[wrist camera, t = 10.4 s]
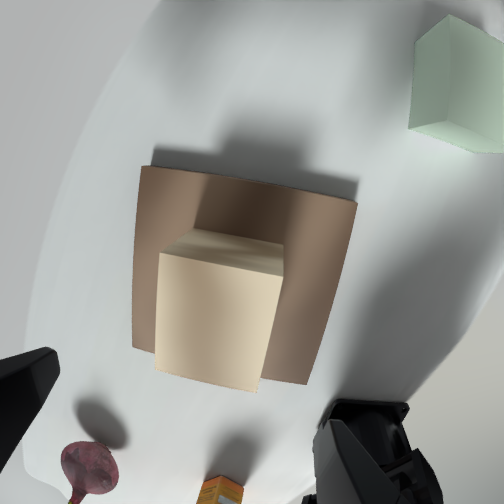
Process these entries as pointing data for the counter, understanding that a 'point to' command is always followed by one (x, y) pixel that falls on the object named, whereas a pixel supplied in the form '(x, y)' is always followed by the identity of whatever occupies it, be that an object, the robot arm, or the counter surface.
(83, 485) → the vegetable
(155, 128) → the counter surface
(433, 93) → the sage green brick
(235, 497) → the supplement box
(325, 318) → the walnut baseboard
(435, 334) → the counter surface
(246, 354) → the beech brick
